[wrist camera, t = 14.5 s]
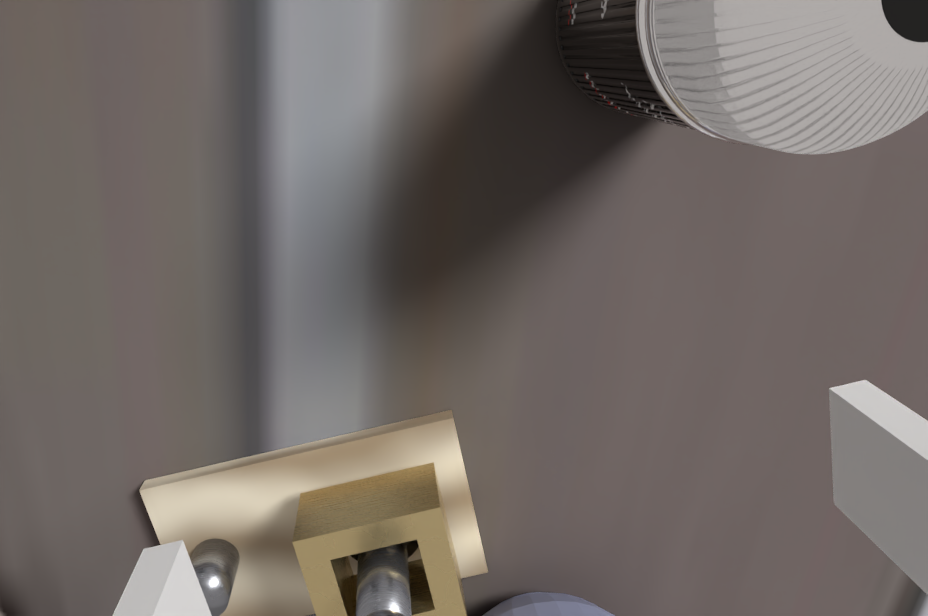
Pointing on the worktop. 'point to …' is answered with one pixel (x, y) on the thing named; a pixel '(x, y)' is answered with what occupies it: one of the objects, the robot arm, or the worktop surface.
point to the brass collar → (378, 540)
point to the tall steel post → (384, 580)
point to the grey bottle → (754, 66)
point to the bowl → (546, 606)
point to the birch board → (277, 498)
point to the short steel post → (216, 572)
